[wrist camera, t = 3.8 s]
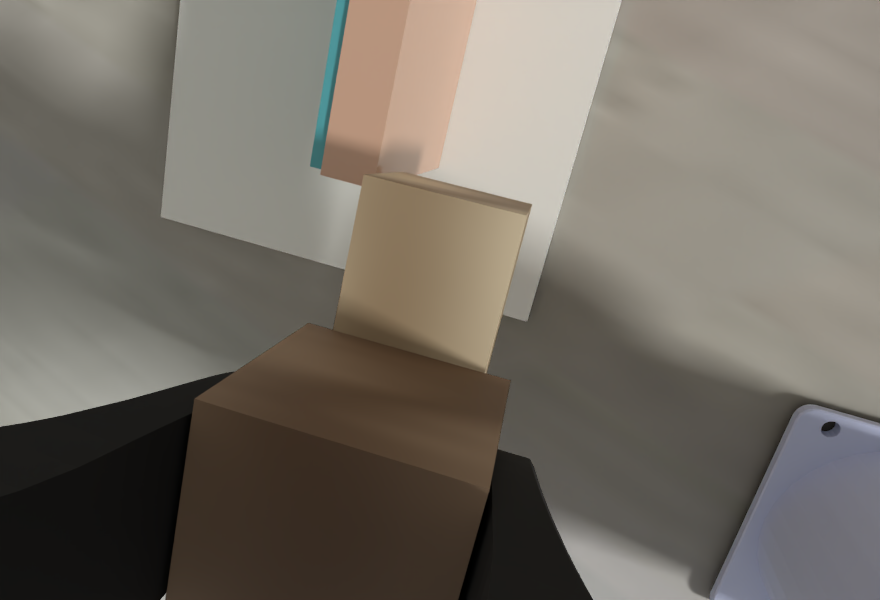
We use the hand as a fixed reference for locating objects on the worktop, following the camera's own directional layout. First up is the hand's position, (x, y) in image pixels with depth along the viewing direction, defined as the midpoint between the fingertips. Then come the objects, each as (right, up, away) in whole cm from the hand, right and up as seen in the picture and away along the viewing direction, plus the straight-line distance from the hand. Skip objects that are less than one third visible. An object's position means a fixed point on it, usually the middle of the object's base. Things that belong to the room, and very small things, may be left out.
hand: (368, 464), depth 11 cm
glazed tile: (+1, +11, +7) cm, 13 cm away
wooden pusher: (+1, +1, +4) cm, 5 cm away
